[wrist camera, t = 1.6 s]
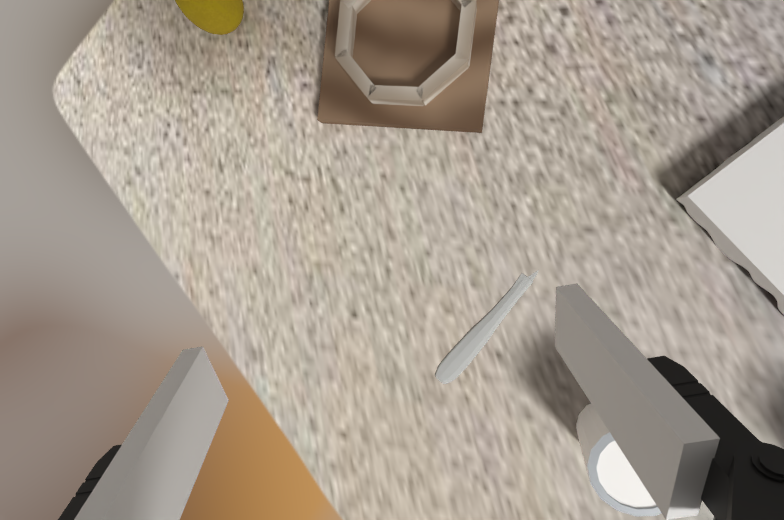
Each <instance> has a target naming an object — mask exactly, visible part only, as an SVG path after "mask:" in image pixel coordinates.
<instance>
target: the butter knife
mask: <svg viewBox="0 0 784 520" xmlns="http://www.w3.org/2000/svg"><path fill="white" fill-rule="evenodd" d="M537 273H538V270H537V271H536V272H535V273H533V274H532V275H530V276H529V277H527V276H526V275H524V274H523V273H522V274H521V275H520V277H519V278H518V279H517V281H516V282H515V284H514V285H513V286H512V288H511V289H510V290H509V291H508V292H507V294H506V295H505V296H504V297H503V298H502V299H501V300H500V301H499V302H498V304H497V305H496V306H495V307H494V308H493V309H492V310H491V311H490V312H489V313H488V314H487V315H486V316H485V317H484V318H483V319H482V320H481V321H480V322H479V323H477V324H476V325H475V326H474V327H473V328H472V329H471V330H470V331H469V332H468V333H467V334H466V335H465V336H464V337H463V338H462V339H461V340H460V341H459V343H458V344H457V345H456V346H455V347H454V348H453V349H452V350H451V351H450V352H449V353H448V355H447V356H446V357H445V358H444V359H443V361H442V362H441V363H440V365H439V366H438V368H437V371H436V374H435V376H436V378H437V379H438V380H439V381H440V382H441V383H443V384H447V383H449V382H451V381H453V380H455V379H456V378H457V377H458V376H459V375H460V374H461V373H462V372H463V370H464V369H465V368H466V367H467V366H468V365H469V364H470V362H471V361H472V360H473V359H474V358H475V356H476V355H477V354H478V353H479V351H480V350H481V349H482V348H483V346H484V345H485V344H486V343H487V341H488V340H489V338H490V337H491V335H492V334H493V332H494V331H495V330H496V328H497V327H498V326H499V324H500V323H501V321H502V320H503V319H504V317H505V316H506V315H507V314H508V312H509V311H510V310H511V308H512V307H513V306H514V304H515V303H516V302H517V301H518V299H519V298H520V297H521V296H522V294H523V293H524V292H525V291H526V290H527V289H528V287H529V286H530V285H531V284H532V283H533V279H534V278H535V276H536V275H537Z"/></svg>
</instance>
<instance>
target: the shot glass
mask: <svg viewBox="0 0 784 520" xmlns="http://www.w3.org/2000/svg"><path fill="white" fill-rule="evenodd" d="M576 429H577V434H578V439H579V443H580V446H581V450H582V454H583V457H584V461H585V465H586V469H587V472H588V476H589V480H590V483H591V485H592V486H593V488H594V489H595V491H596V492H597V494H598V495H599V497H600V498H601V499H602V500H603V501H604V502H606V503H607V504H609V505H610V506H611V507H613V508H614V509H615V510H617V511H620V512H623V513H626V514H630V515H633V516H656V515H659V514H661V511H660V510H659V508H658V507H657V505H656V504H655V502H654V500H653V499H652V497H651V496H650V494H649V493H648V491H647V490H646V488H645V486H644V485H643V483H642V482H641V480H640V479H639V477H638V476H637V474H636V472H635V471H634V469H633V468H632V466H631V465H630V463H629V462H628V460H627V458H626V457H625V455H624V454H623V452H622V451H621V449H620V448H619V446H618V444H617V443H616V441H615V440H614V438H613V437H612V435H611V434H610V432H609V430H608V429H607V427H606V426H605V424H604V423H603V421H602V420H601V418H600V416H599V415H598V413H597V412H596V410H595V409H594V407H593V406H592V404H591V403H590V404H588V405H586V406H585V407H584V409H583V410H582V411H581V412H580V414H579V415H578V419H577V423H576Z"/></svg>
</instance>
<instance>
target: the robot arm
mask: <svg viewBox="0 0 784 520" xmlns="http://www.w3.org/2000/svg"><path fill="white" fill-rule="evenodd" d="M555 348H556V350H557V351H558V353H559V354H560V356H561V357H562V359H563V360H564V362H565V364H566V365H567V367H568V368H569V370H570V371H571V373H572V374H573V376H574V378H575V379H576V381H577V382H578V384H579V385H580V387H581V388H582V390H583V392H584V393H585V395H586V396H587V398H588V399H589V401H590V402H591V404H592V406H593V407H594V409H595V410H596V412H597V413H598V415H599V416H600V418H601V420H602V421H603V423H604V424H605V426H606V427H607V429H608V430H609V432H610V434H611V435H612V437H613V438H614V440H615V441H616V443H617V444H618V446H619V448H620V449H621V451H622V452H623V454H624V455H625V457H626V458H627V460H628V462H629V463H630V465H631V466H632V468H633V469H634V471H635V472H636V474H637V476H638V477H639V479H640V480H641V482H642V483H643V485H644V486H645V488H646V490H647V491H648V493H649V494H650V496H651V497H652V499H653V500H654V502H655V504H656V505H657V507H658V508H659V510H660V511H661V513H662V514H663V516H664V518H665V519H666V520H669V519H676V518H683V517H689V516H696V515H698V512H699V509H700V505H701V502H702V501H703V502H704V503H705V505H706V506H707V507H708V509H709V510H710V511H711V513H712V514H713V515H714V519H713V520H784V449H782V448H780V447H777V446H775V445H772V444H767V443H763V442H761V441H759V440H758V439H757V438H756V437H755V436H754V435H753V434H752V433H751V432H750V431H749V430H748V429H747V428H746V427H745V426H744V425H743V424H742V423H741V422H740V421H739V420H738V419H737V418H736V417H734V416H733V415H732V414H731V413H730V412H729V411H728V410H727V409H726V408H725V407H724V406H723V405H722V404H721V403H720V402H719V401H718V400H717V399H716V398H715V397H714V396H713V395H710V393H709V391H708V390H707V389H706V388H705V387H704V386H703V385H702V384H701V383H698V380H697V379H696V378H695V377H694V376H693V375H692V374H691V373H690V372H689V371H688V370H687V369H686V368H685V367H683V366H682V365H680V364H678V363H676V362H674V361H673V360H671V359H669V358H667V357H666V356H660V357H654V358H648V359H646V358H645V356H644V355H643V354H642V353H641V352H640V351H639V350H638V349H637V348H636V347H635V346H634V345H633V343H632V342H631V341H630V340H629V339H628V338H627V337H626V336H625V335H624V334H623V333H622V332H621V330H620V329H619V328H618V327H617V326H616V325H615V324H614V323H613V322H612V321H611V320H610V319H609V317H608V316H607V315H606V314H605V313H604V312H603V311H602V310H601V309H600V308H599V307H598V306H597V304H596V303H595V302H594V301H593V300H592V299H591V298H590V297H589V296H588V295H587V294H586V293H585V291H584V290H583V289H582V288H581V287H580V286H579V285H578V284H572V285H566V286H560V287H556V312H555ZM228 401H229V400H228V398H227V396H226V394H225V392H224V390H223V388H222V385H221V384H220V381H219V379H218V377H217V375H216V373H215V371H214V369H213V367H212V365H211V362H210V360H209V358H208V356H207V354H206V352H205V350H204V348H203V347H197V348H191V349H185V350H182V352H181V354H180V355H179V357H178V359H177V360H176V361H175V363H174V365H173V366H172V368H171V369H170V371H169V372H168V374H167V376H166V377H165V379H164V380H163V382H162V383H161V385H160V387H159V388H158V389H157V391H156V393H155V394H154V396H153V397H152V399H151V401H150V402H149V404H148V405H147V407H146V408H145V410H144V411H143V413H142V414H141V416H140V418H139V419H138V421H137V422H136V424H135V425H134V427H133V429H132V430H131V432H130V433H129V435H128V436H127V438H126V439H125V441H124V443H123V444H122V445H116V446H113V447H112V448H111V449H110V450H109V451H108V452H107V453H106V454H105V455H104V456H103V457H102V458H101V459H100V460H99V461H98V462H97V463H96V464H95V466H94V467H93V469H92V470H91V472H90V473H89V475H88V476H87V478H86V479H85V480H86V481H85V483H83V484H82V485H81V486H80V488H79V489H78V491H77V492H76V496H75V497H73V498H72V500H71V501H70V503H69V504H68V506H67V507H66V509H65V510H64V512H63V513H62V515H61V516H60V518H59V519H58V520H180V517H181V515H182V512H183V510H184V507H185V505H186V502H187V500H188V498H189V495H190V493H191V490H192V488H193V486H194V483H195V481H196V478H197V476H198V473H199V471H200V468H201V466H202V464H203V461H204V459H205V456H206V454H207V452H208V449H209V447H210V444H211V442H212V439H213V437H214V434H215V432H216V430H217V427H218V425H219V422H220V420H221V418H222V415H223V413H224V410H225V408H226V405H227V403H228Z"/></svg>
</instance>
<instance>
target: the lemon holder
mask: <svg viewBox="0 0 784 520" xmlns="http://www.w3.org/2000/svg"><path fill="white" fill-rule="evenodd" d="M498 4H499V0H329V7H328V17H327V27H326V37H325V47H324V58H323V68H322V78H321V88H320V98H319V108H318V118H317V120H318V121H320V122H321V123H329V124H345V125H362V126H378V127H395V128H411V129H428V130H444V131H461V132H477V133H482V127H483V119H484V111H485V104H486V96H487V88H488V81H489V73H490V65H491V58H492V50H493V42H494V35H495V27H496V19H497V12H498Z"/></svg>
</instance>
